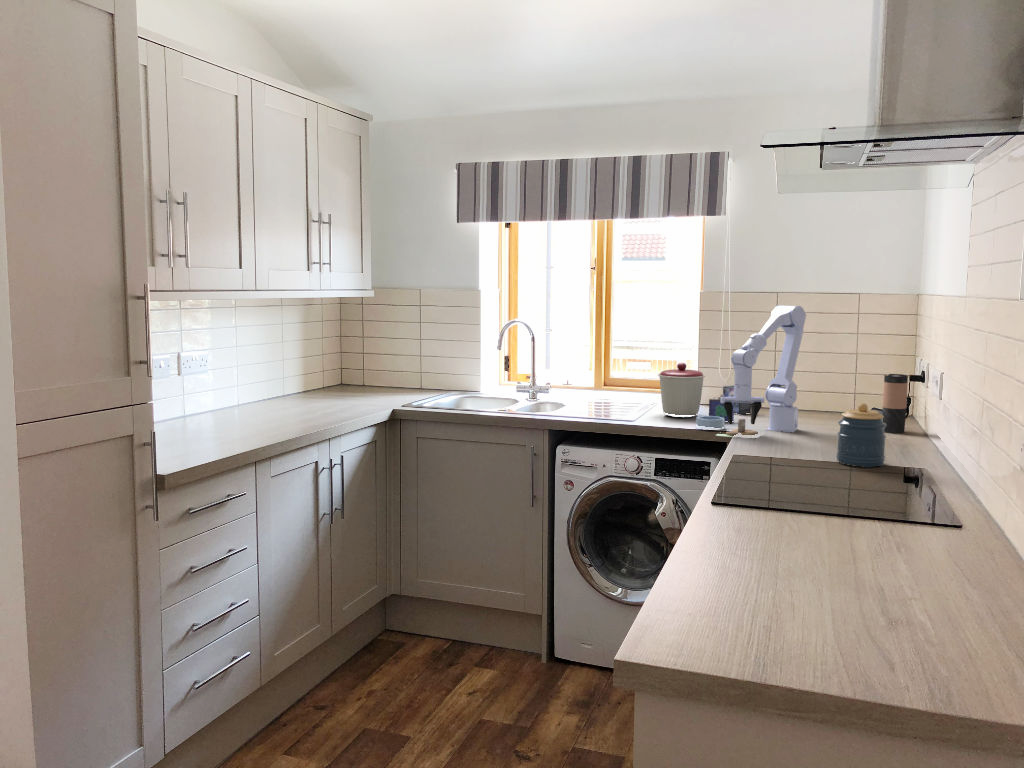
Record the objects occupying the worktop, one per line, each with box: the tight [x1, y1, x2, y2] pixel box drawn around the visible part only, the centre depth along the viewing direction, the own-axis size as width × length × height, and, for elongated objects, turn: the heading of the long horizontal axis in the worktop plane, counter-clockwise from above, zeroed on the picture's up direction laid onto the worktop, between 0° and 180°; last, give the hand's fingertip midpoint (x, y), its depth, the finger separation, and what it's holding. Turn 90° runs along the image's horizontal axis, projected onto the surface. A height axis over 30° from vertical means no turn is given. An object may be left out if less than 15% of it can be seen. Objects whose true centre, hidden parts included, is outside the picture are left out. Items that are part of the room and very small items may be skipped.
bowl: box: [695, 415, 726, 428], centre depth 309 cm, size 10×10×4 cm
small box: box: [722, 384, 752, 414], centre depth 345 cm, size 11×6×10 cm, turn 25°
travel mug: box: [881, 373, 909, 434], centre depth 301 cm, size 8×8×20 cm
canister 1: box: [657, 362, 706, 416], centre depth 336 cm, size 18×18×21 cm
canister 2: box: [836, 402, 887, 468], centre depth 250 cm, size 13×13×18 cm
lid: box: [726, 418, 759, 436], centre depth 297 cm, size 11×11×5 cm
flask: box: [708, 393, 735, 421], centre depth 322 cm, size 9×3×11 cm, turn 87°
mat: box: [715, 433, 734, 438], centre depth 297 cm, size 14×14×1 cm
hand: (741, 423), depth 297 cm, fingers open, 7 cm apart
